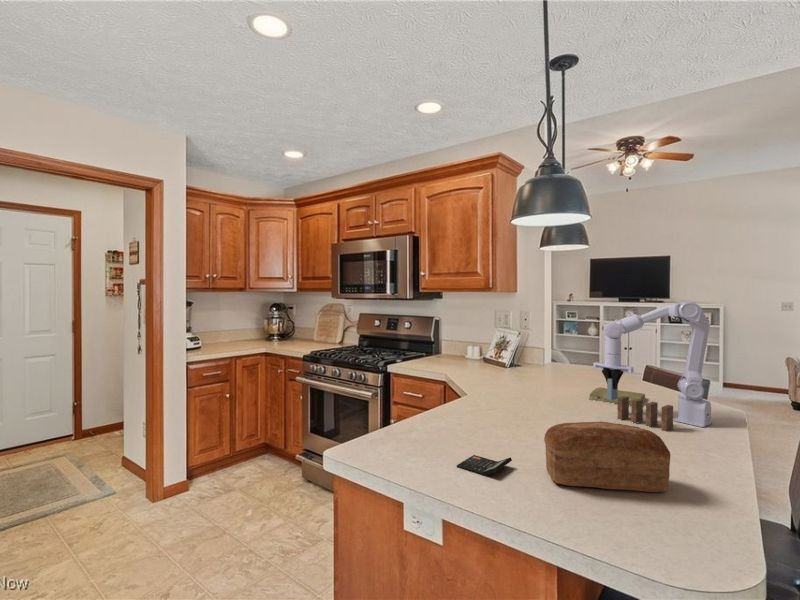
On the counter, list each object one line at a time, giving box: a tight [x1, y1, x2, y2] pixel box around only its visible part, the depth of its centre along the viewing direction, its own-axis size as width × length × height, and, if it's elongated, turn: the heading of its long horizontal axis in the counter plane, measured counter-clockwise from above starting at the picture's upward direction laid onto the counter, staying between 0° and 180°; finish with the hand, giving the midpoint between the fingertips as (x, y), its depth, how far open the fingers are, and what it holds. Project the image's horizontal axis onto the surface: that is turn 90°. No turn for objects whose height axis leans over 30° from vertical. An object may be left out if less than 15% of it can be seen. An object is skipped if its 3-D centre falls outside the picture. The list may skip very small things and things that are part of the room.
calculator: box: [456, 454, 513, 476], centre depth 111 cm, size 9×12×3 cm
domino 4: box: [645, 401, 659, 428], centre depth 147 cm, size 2×5×8 cm, turn 125°
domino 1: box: [606, 378, 619, 400], centre depth 161 cm, size 2×5×8 cm, turn 128°
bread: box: [543, 421, 671, 493], centre depth 103 cm, size 12×28×14 cm, turn 80°
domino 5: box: [660, 404, 674, 432], centre depth 143 cm, size 2×5×8 cm, turn 125°
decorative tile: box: [588, 387, 646, 407], centre depth 183 cm, size 19×20×4 cm
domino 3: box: [630, 399, 644, 424], centre depth 151 cm, size 2×5×8 cm, turn 125°
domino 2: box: [617, 396, 630, 421], centre depth 155 cm, size 2×5×8 cm, turn 125°
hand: (612, 388), depth 161 cm, fingers closed on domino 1, 1 cm apart
